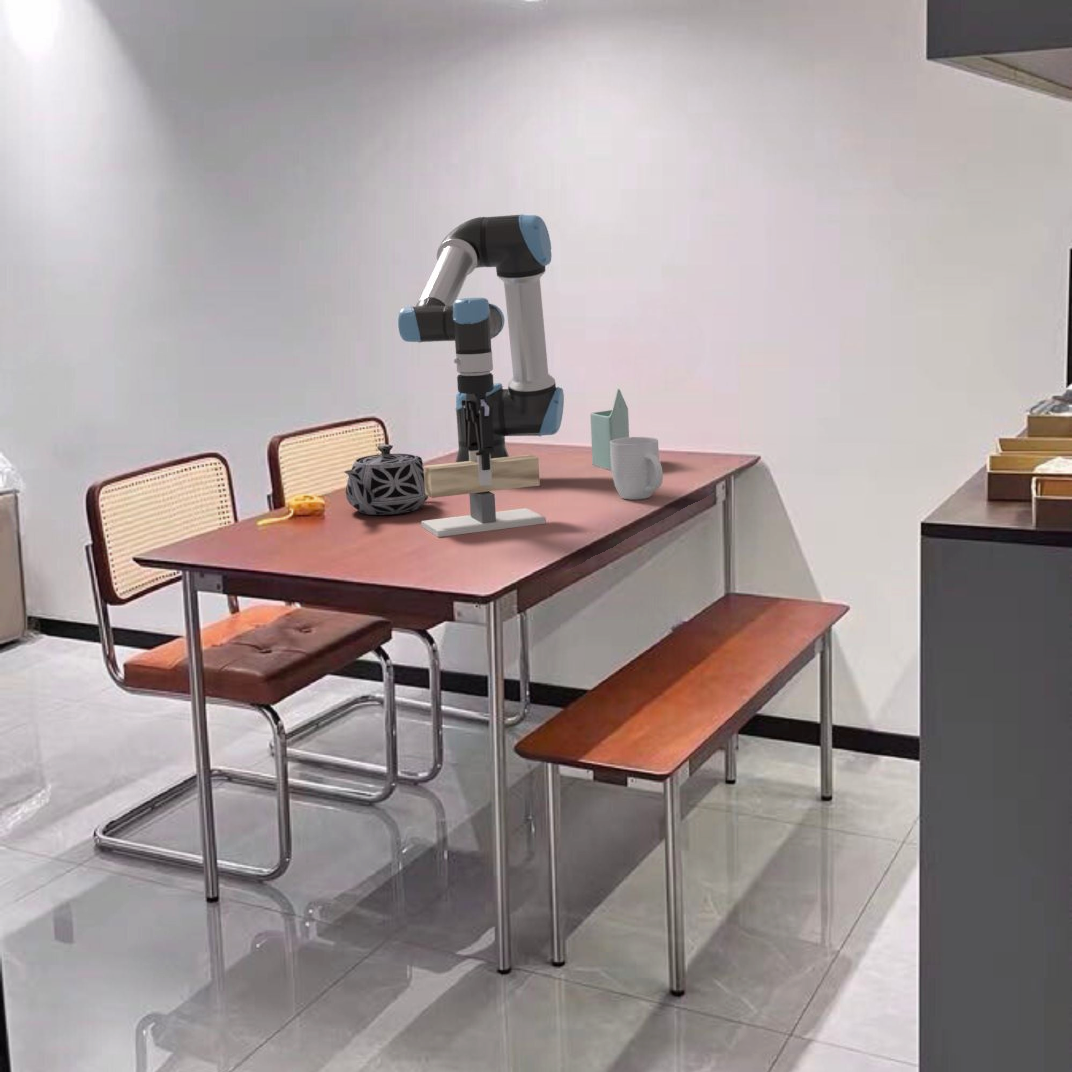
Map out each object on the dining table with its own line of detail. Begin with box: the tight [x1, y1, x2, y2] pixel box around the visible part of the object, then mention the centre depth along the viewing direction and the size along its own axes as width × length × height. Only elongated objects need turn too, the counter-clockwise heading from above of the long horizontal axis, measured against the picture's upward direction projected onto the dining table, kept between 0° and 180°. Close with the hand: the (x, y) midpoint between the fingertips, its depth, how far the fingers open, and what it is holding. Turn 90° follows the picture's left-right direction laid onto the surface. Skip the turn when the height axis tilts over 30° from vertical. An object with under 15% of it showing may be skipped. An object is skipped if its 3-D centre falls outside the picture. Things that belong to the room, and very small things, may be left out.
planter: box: [589, 388, 630, 472], centre depth 377 cm, size 16×8×20 cm, turn 162°
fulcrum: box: [421, 491, 547, 538], centre depth 314 cm, size 12×24×7 cm, turn 111°
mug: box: [610, 436, 664, 501], centre depth 333 cm, size 15×11×13 cm
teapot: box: [343, 444, 430, 516], centre depth 333 cm, size 19×31×15 cm, turn 153°
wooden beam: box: [423, 454, 541, 499], centre depth 312 cm, size 5×24×6 cm, turn 111°
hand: (481, 482), depth 313 cm, fingers closed on wooden beam, 5 cm apart
